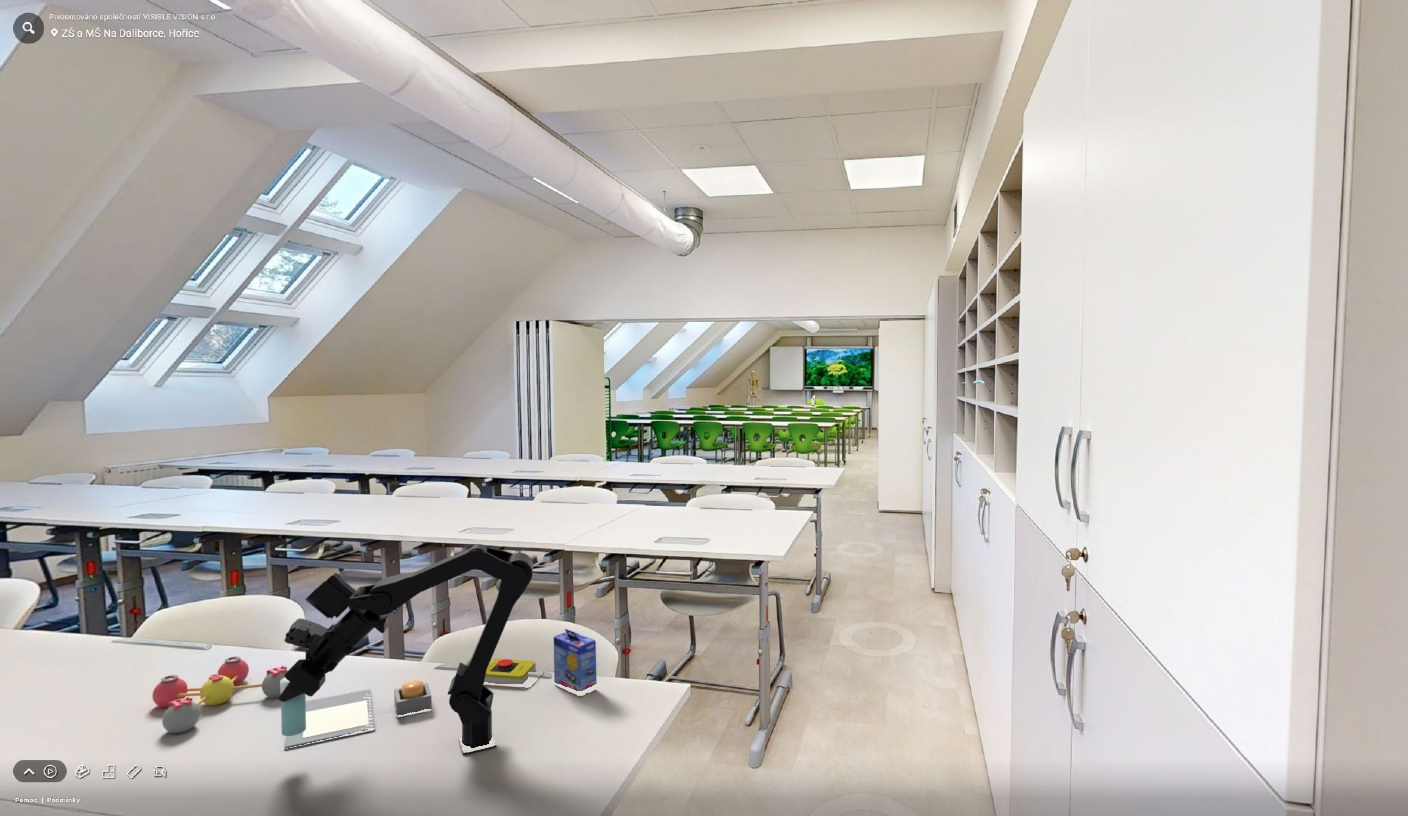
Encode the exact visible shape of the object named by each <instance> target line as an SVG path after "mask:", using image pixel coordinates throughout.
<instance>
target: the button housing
mask: <svg viewBox="0 0 1408 816" xmlns="http://www.w3.org/2000/svg"><path fill="white" fill-rule="evenodd" d="M393 691H394V693H393V694H394V698H393V699H394V709H395V708H396V710H395V714H397V716H398V715H404V714H407V713H410V712H411V713H412V712H418V711H421V710H424V709H432V705H433V704H432V703H433V702H432V693H431V690H430V687H429V683H428V682H427V683H423V696H419V697H414V698H409V699H404V700H402V687H400V688H395V689H394V690H393ZM397 716H396V717H397Z"/></svg>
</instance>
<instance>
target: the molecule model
mask: <svg viewBox="0 0 1408 816" xmlns="http://www.w3.org/2000/svg"><path fill="white" fill-rule="evenodd" d="M287 667H288V666H285V665H281V666H277V667H274V668H271V669H268V670H267V669H266V675H265V676H264V677H263V681H262V683H256V684H250V685H249V684H248V685H247V684H246V685H240V684H241V683H243V682H244V681H245V680H246V679H247V677H248V674H249V671H250V668H249V665H248V663H247V662H246V661H245V660H243V659H241V656H238V655H237V656H230V657H227V658H225V659H224V662H223V663H222V664H221V665H220V667H219V668H218V670H217V672H216V673H214V674H210V675H209V676H208V679H207V680H206V681H205V682H204V683H203V684H202V685H201V687H190V688H189V687H188V684H187V682H186V681H185V680H184V679H182V678H180V677H179V675H177V674H172V675H167V676H164V677H162V678H161V679H160V680H161V681H160V682H158V683H157V685H156V686H155V687H154V689H153V691H152V701H153V703H154V704H155V705H156V706H157V707H160V708H164V709H165V708H167V709H166V710H165V711H164V713H163V716H162V718H161V719H162V720H161V721H162V726H163V728H164V729H165V731H167V732H168V733H171V734H174V735H175V734H182V733H186V732H189V730H191V729H192V728H194V726H195V725H196V724H197V723H198V721H199V719H200V717H201V716H200V715H201V709H200V705H201V704H202V703H204V704H205V705H207V706H220V705H221V704H224V703H225V702H228V700H229V699H230V698H231V697H232V695H233V693H234V691H235V690H242V689H243V690H245V689H253V688H261V690H262V692H263V694H264V695H265V696H266V697H268V698H271V699H279V697H280V695H281V693H280V680H281V679H283V678H285V676H284V675H285V674H286V672H287V671H288V668H287ZM238 685H239V686H238ZM193 697H200V700H199V701H197V702H194V701H193Z"/></svg>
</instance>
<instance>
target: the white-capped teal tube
mask: <svg viewBox="0 0 1408 816" xmlns="http://www.w3.org/2000/svg"><path fill="white" fill-rule="evenodd" d="M289 682H290V681H288V680H287V679H286V678H283V679H281V680H280V693H281V694H282V692H283V691H284V689H285V688H286V686H287V685H288V684H289ZM306 696H307V695H306V694H305V693H304V694H301V695H299V696H296V697H294V698H292V699H289V700H287V701H285V702H281V701H280V709H281V710H280V713H281V715H280V717H281V723H280V724H281V735H282V736H284V737H286V736H293V735H297V734H300V733H302V732H303V731H305V730H306V701H307V700H306V698H307V697H306Z"/></svg>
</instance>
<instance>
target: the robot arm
mask: <svg viewBox="0 0 1408 816" xmlns="http://www.w3.org/2000/svg"><path fill="white" fill-rule="evenodd" d="M475 569H476V570H479V571H481V572H483V573H485V574H487V575H489V576H491V577H492V578H495V579H497V580H500V584H499V588H498V593H497V597H496V598H495V601H494V604H493V606H492V609H491V611H490V613H489V615H488V618H487V619H486V622H485V625H484V627H483V629H482V632H481V634H480V636H479V639H478V642H477V643H476V646H475V648H474V651H473V653H472V655H471V658H470V659H469V660H468V661H467V663H466V664H464V663H463V662H459V664H458V667H457V669H456V673H455V676H453V678H452V679H451V682H450V686H449V687H448V691H447V695H450V696H449V700H448V704H449V706H450V708H451V710H452V711H453V712H454V713H456V714H458V717H459V720H460V721H461V736H462V743H463V744H464V745H466V746H470V747H471V748H475V747H478V746H483V745H487V744H489V741H490V740H491V738H492V734H493V711H492V707H493V706H492V705H493V700H494V695H495V694H494V692H493V691H492V690H491V689H489V688H488V687H487V685H483V684H484V680H485V675H486V671H487V668H488V665H489V663H490V662H491V661H492V657H493V655H494V653H495V650H496V648H497V646H498V644H499V641H500V639H501V636H502V634H503V632H504V629H505V627H506V624H508V623H507V622H508V620H509V618H510V615H511V613H512V611H513V608H514V606H515V604H516V603H517V602H518V600H519V599H520V598H521V596H523V594H524V592H525V591H526V589H527V587H528V586H529V584H530V583H531V581H532V579H533V573H534V562H533V560H532V558H531V557H530V555H528V554H526V553H524V552H516V553H513V552H511V551H507V550H504V549H503V550H502V549H499V548H493V547H489V546H486V545H484V544H481V543H477V544H473V545H472V546H470V548H468V549H465V550H462V551H461V552H458V553H456V554H454V555H451V556H449V557H447V558H444V559H442V560H439V561H437V562H435V563H433V564H431V565H428V566H425V567H423V568H421V569H419V570H416V571H413V572H406V573H399V574H395V575H392V576H386V577H383V578H382V579H380V580H378V581H377V582H376V583H374V584H369V585H362V586H359V587H357V588H356V589H355V588H353V586H351V585H350V584H349V583H347V582H346V581H345V580H344V579H343V578H342V577H341V576H340V574H338V573H337V572H333V574H332V575H330V577H328V578H327V579H326V580H324V581H322V583H321V584H319V586H317V588H315V589H314V590H313V591H312V592H311V593H310V594H309V595H307V596H306V598H305V599H304V600H305V601H306V602H307V603H308V604H309V605H311V606H312V607H313V608H314V609H316V611H318V612H319V613H320V614H322V615H323V616H324V617H325V618H327V619H331V620H333V618H337V619H338V618H339V617H340V616H341V615H342V613H344V612H345V611H346V610H347V609H348V608H350V609H349V610H348V611H347V612H346V613H345V614H344V615H343V616H342V617H341V618H339V620H338V621H337V622H336V623H332V624H331V625H330V626H329V627H328V628H327V627H325V626H324V625H323V626H322V625H321V624H320V623H317V622H313V621H311V620H309V619H305V618H297V619H296V620H295V621H293V623H292V624H291V625H290V628H289V629H288V631H287V632H286V633H285V638H284V642H285V643H287V644H288V645H293V646H295V647H301V648H304V649H307V650H305V658H304V659H303V658H302V659H301V658H300V659H298V660H297V661H296V662H295V663H294V664H293V665H292V666H291V667H290V668H289V669H287V672H286V674H285V675H284V676H285V678H286V679H287V680H288V681H290V682H289V684H288V685H287V686H286V688H285V689H284V691H283V692H282V694H281V695H280V697H279V698H278V700H279V701H280V703H281V702H285V701H287V700H289V699H292V698H294V697H296V696H299V695H301V694H304V693H305V694H306V696H307V697H313V696H314V695H315V694H316V693H317V692H318V691H319V690H320V689H321V687H322V686H323V685H324V684H325V683H326V674H328V673H329V672H333V671H334V670H335V668H337V666H338V665H339V664H340V663H341V662H342V661H343V660H344V658H346V656H349V655H350V654H351V653H352V652H353V651H354V649H355V648H356V647H357V646H358V645H359V644H360V643H361V642H362V641H363V640H364V639H365V638H366V637H367V636H368V635H369V634H370V633H371V632H372V631H373V630H374V629H376V630H377V631H378V632H379V633H380V634H384V633H385V632H386V630H387V628H388V627H389V614H391V613H392V612H394V611H396V610H398V609H400V608H401V607H402V606H404V605H405V604H407V602H409V601H410V600H412V599H413V598H414V597H416V596H417V595H419V594H420V593H422V592H425V591H427V590H430V589H432V588H433V587H436V586H438V585H441V584H444V583H446V582H448V581H449V580H452V579H455V578H456V577H459V576H462V575H464V574H466V573H468V572H470V571H472V570H475Z"/></svg>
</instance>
